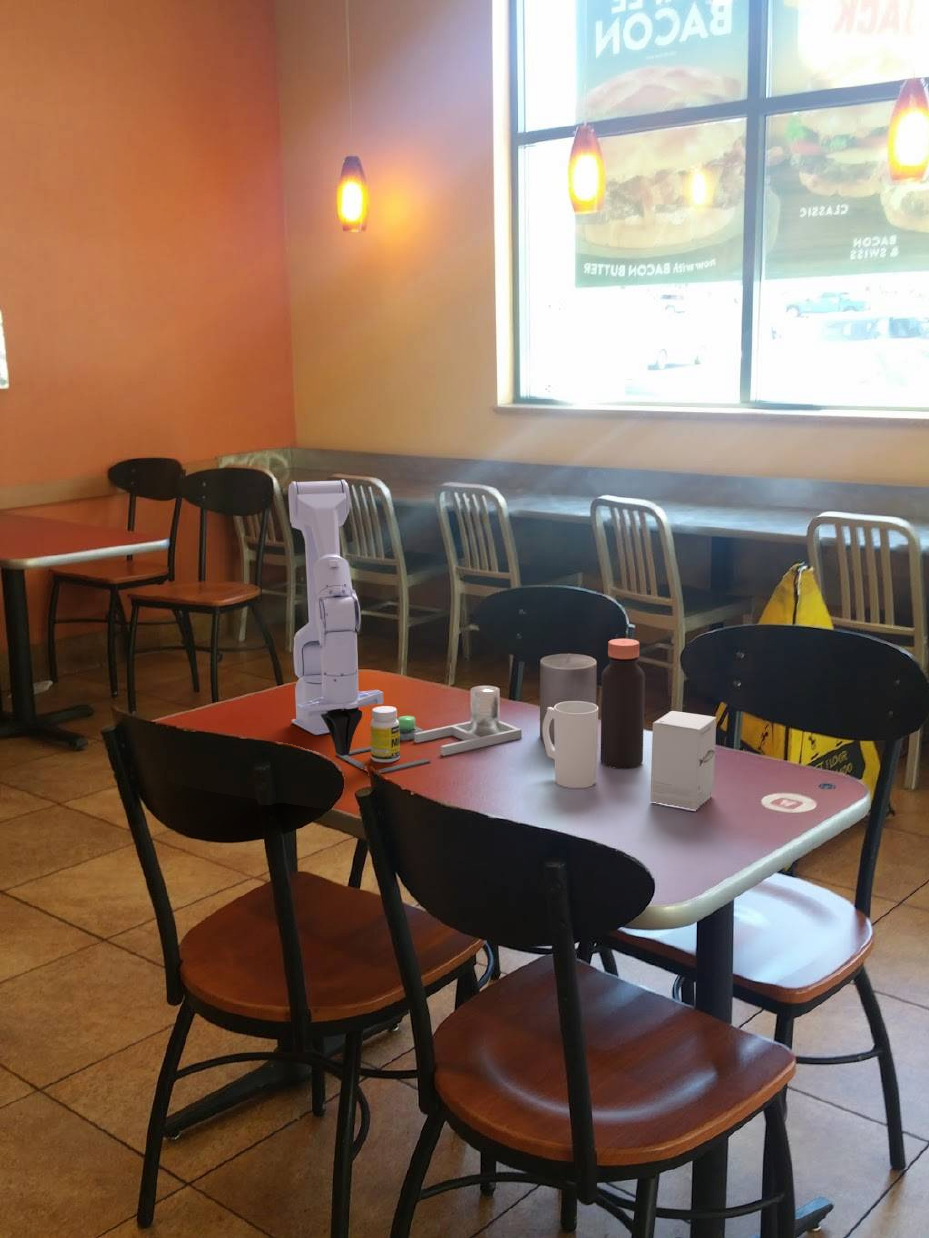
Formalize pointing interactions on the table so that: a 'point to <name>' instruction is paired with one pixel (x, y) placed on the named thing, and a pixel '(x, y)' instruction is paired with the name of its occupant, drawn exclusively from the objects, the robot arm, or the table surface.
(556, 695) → the pillar candle
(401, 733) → the grey button base
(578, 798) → the table surface
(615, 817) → the table surface
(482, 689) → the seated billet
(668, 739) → the supplement box
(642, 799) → the table surface
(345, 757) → the tote
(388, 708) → the supplement bottle
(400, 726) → the button
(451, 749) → the workpiece holding fixture
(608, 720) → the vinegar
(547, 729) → the mug
